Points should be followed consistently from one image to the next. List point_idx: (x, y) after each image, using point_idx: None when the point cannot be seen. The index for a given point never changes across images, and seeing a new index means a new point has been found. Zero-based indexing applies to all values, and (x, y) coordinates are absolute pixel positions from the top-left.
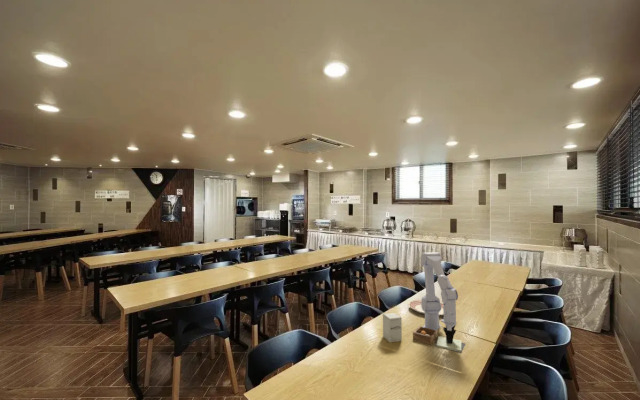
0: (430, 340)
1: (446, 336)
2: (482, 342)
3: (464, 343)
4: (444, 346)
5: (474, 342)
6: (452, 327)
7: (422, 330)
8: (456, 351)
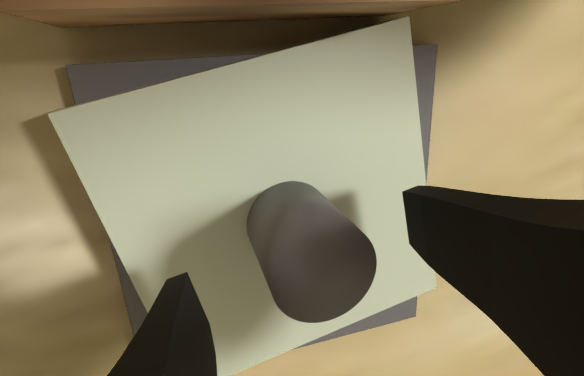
0: None
1: (120, 361)
2: (517, 367)
3: (410, 308)
4: (111, 226)
5: (489, 334)
6: (541, 342)
7: None
8: None
